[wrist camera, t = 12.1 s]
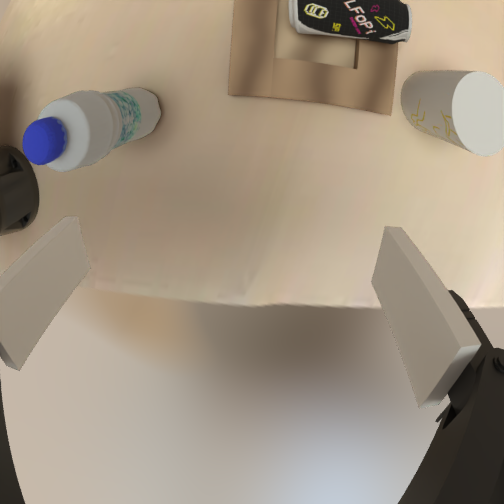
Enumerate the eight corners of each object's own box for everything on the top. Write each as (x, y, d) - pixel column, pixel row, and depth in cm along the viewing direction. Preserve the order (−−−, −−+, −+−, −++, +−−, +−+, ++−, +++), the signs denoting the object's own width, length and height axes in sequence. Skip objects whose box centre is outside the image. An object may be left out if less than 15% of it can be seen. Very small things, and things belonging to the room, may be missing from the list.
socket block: (231, 94, 31) (228, 94, 29) (241, -39, 22) (238, -47, 20) (383, 113, 31) (390, 115, 29) (392, -16, 22) (399, -22, 20)
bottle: (121, 84, 31) (3, 101, 14) (170, 87, 31) (69, 96, 14) (115, 135, 34) (6, 188, 17) (163, 140, 35) (68, 197, 17)
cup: (390, 110, 31) (438, 123, 20) (416, 58, 27) (471, 53, 16) (438, 145, 32) (491, 172, 22) (462, 96, 28) (522, 108, 18)
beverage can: (292, 43, 26) (404, 57, 24) (285, 10, 21) (417, 27, 18) (295, 7, 26) (399, 20, 23) (289, -25, 20) (409, -11, 18)
